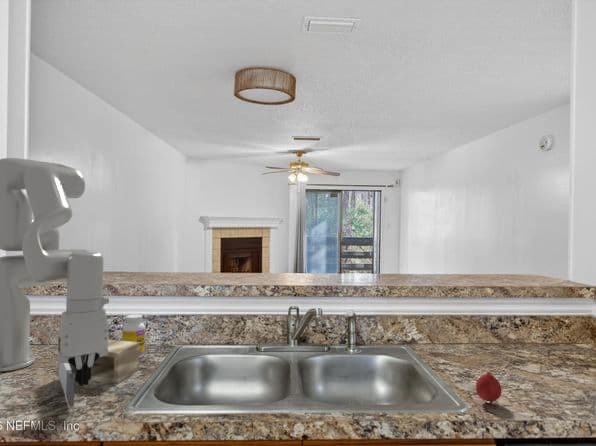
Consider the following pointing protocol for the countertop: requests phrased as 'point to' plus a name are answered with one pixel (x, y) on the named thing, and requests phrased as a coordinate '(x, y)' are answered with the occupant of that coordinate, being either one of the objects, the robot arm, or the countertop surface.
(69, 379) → the door
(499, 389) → the onion
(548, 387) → the countertop surface
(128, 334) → the supplement bottle
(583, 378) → the countertop surface
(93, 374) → the cabinet
